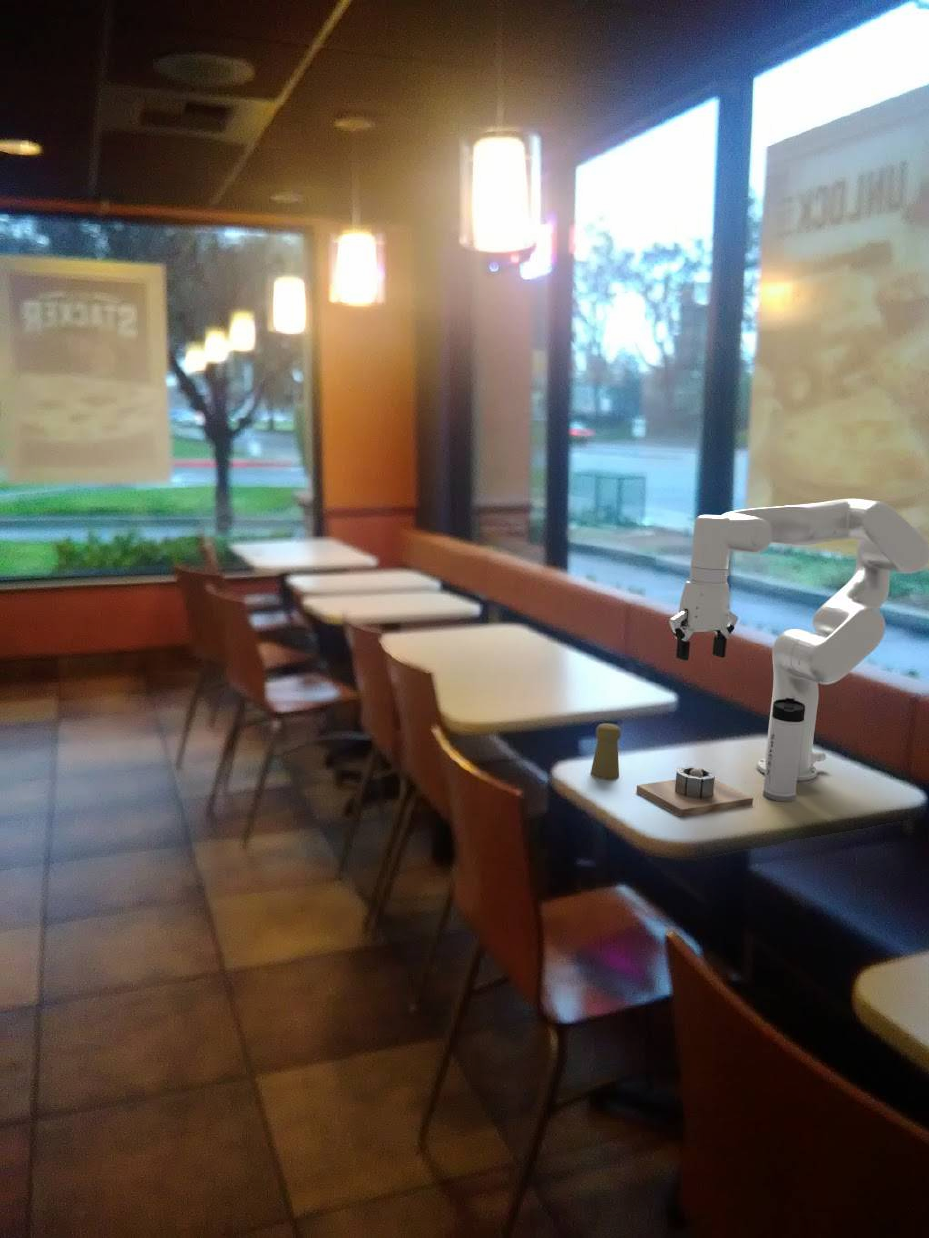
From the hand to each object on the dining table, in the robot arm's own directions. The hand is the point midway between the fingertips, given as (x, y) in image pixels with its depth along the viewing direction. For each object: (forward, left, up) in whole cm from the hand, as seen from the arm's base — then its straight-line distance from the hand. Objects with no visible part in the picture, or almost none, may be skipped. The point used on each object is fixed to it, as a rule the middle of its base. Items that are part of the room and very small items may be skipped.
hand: (700, 657), depth 212 cm
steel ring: (+7, +10, -25) cm, 28 cm away
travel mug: (-11, +15, -26) cm, 32 cm away
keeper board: (+7, +10, -26) cm, 29 cm away
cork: (+16, -8, -26) cm, 32 cm away
